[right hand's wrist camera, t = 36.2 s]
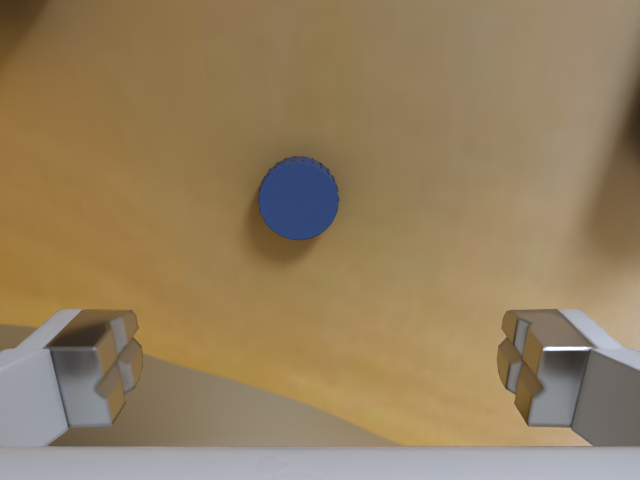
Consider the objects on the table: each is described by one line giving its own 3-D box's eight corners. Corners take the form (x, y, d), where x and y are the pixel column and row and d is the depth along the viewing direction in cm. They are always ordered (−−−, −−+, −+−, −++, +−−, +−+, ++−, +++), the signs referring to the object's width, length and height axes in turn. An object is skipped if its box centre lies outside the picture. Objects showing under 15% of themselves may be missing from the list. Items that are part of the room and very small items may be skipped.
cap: (259, 155, 23) (255, 161, 21) (338, 155, 23) (340, 161, 21) (262, 230, 24) (258, 240, 23) (336, 230, 24) (338, 241, 23)
